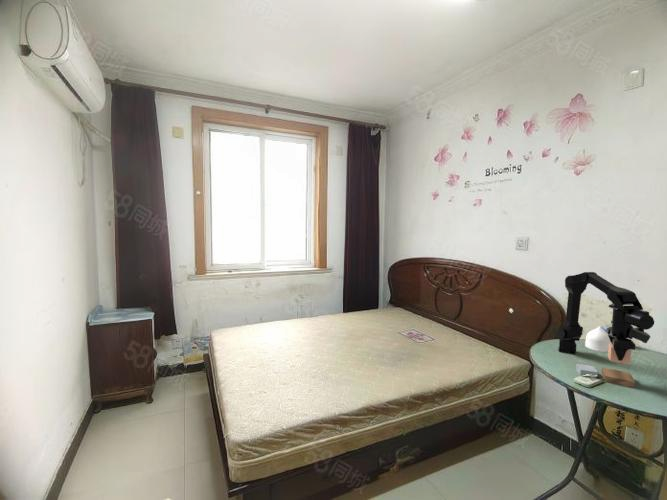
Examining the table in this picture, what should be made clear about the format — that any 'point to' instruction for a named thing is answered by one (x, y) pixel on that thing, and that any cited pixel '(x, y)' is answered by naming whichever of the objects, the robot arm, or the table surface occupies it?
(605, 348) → the teardrop
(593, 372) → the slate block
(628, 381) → the walnut block
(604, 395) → the table surface
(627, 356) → the terracotta block
